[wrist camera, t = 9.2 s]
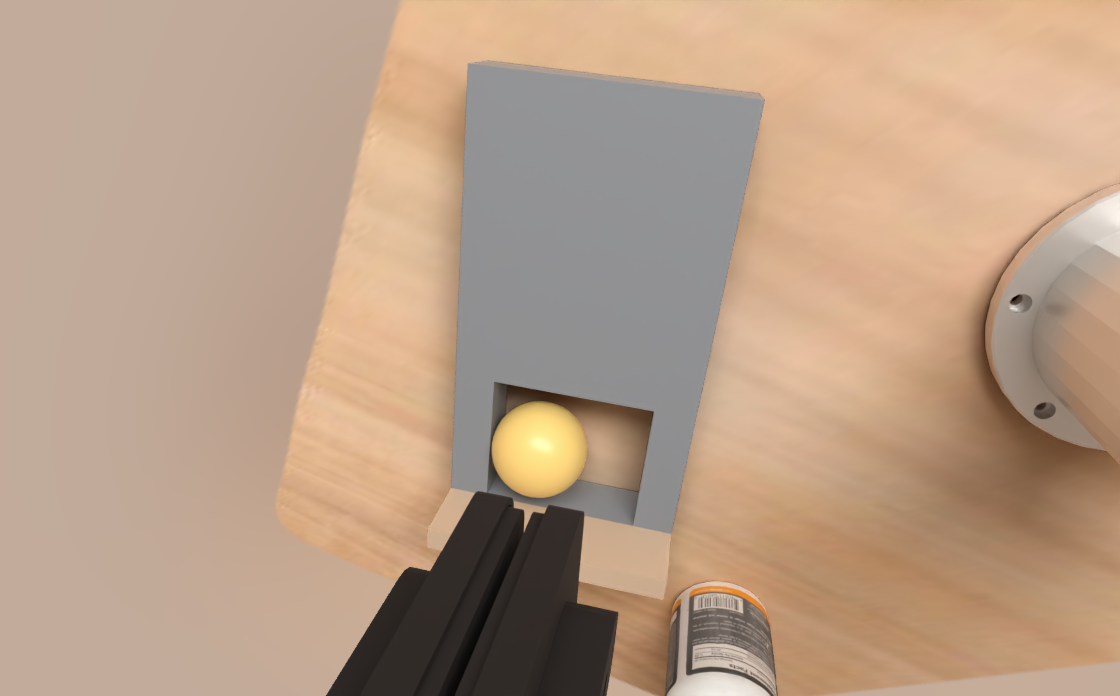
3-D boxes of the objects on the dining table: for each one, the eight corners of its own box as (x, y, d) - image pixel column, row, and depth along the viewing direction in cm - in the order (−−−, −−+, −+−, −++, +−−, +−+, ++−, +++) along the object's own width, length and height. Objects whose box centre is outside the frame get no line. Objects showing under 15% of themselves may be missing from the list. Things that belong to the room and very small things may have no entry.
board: (759, 93, 30) (771, 108, 24) (666, 534, 40) (658, 619, 34) (488, 60, 31) (437, 67, 25) (466, 492, 42) (426, 567, 36)
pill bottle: (728, 662, 43) (732, 826, 34) (652, 614, 43) (637, 767, 34) (789, 611, 40) (811, 774, 32) (709, 559, 40) (709, 709, 31)
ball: (578, 478, 39) (591, 395, 38) (582, 520, 34) (596, 426, 33) (490, 468, 39) (501, 383, 38) (481, 508, 34) (493, 413, 33)
